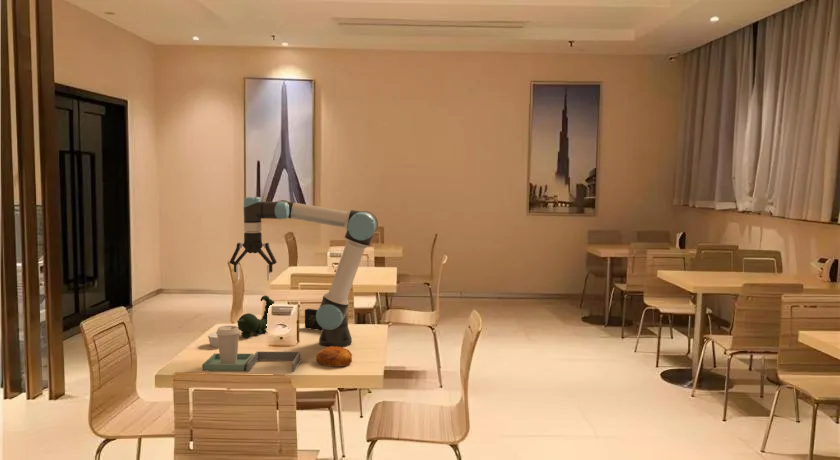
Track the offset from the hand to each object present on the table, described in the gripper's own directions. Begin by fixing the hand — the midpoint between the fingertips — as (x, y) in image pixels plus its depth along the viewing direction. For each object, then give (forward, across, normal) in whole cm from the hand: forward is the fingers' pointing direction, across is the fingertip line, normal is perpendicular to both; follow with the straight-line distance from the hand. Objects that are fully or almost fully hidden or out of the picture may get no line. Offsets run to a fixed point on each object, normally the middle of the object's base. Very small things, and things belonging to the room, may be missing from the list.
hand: (253, 279), depth 301 cm
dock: (+32, -14, +25) cm, 43 cm away
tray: (+32, +5, +24) cm, 40 cm away
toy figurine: (+32, +6, -29) cm, 44 cm away
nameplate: (+32, -26, -39) cm, 56 cm away
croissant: (+32, -38, +20) cm, 54 cm away
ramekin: (+32, +17, -8) cm, 37 cm away
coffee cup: (+31, +5, +24) cm, 40 cm away
